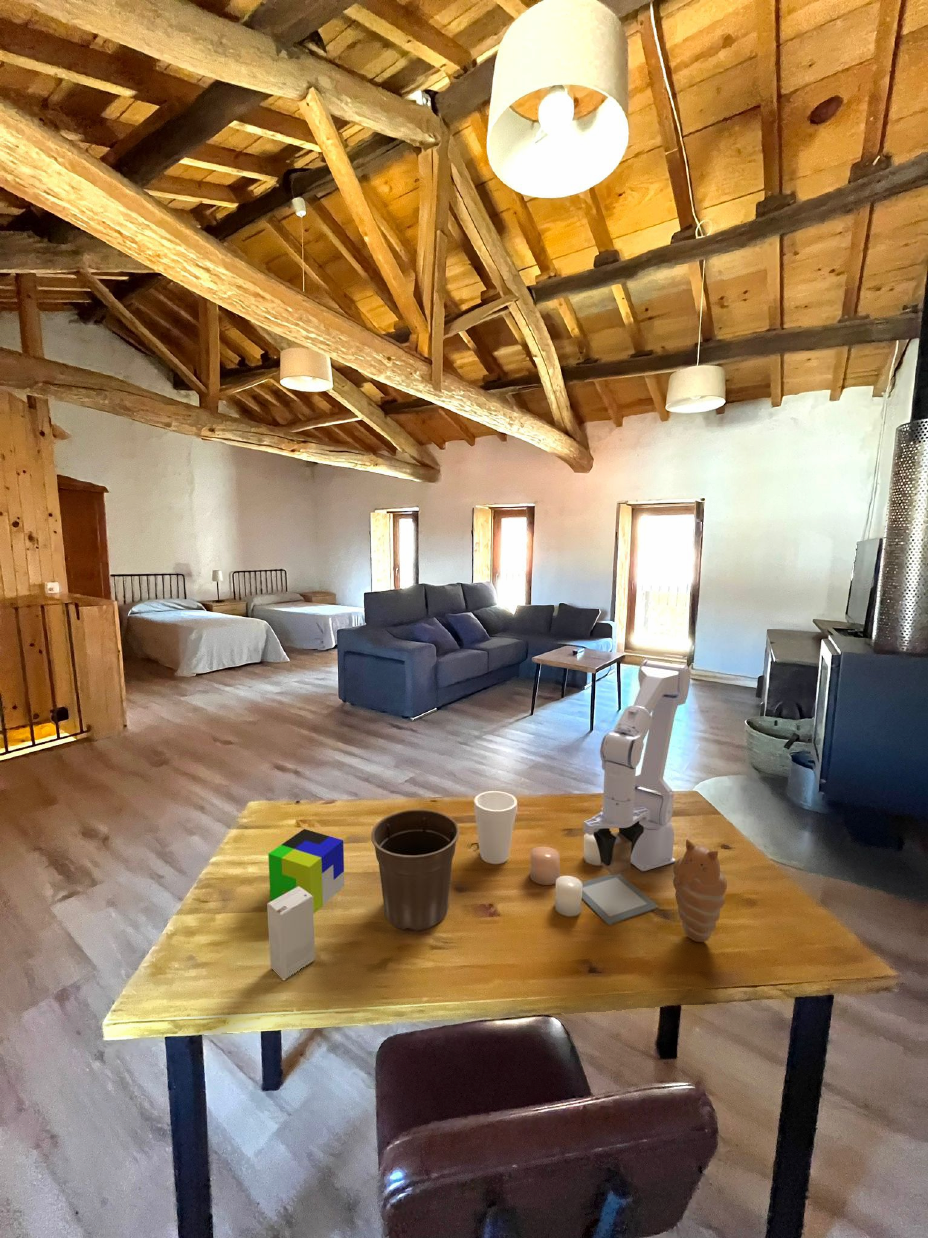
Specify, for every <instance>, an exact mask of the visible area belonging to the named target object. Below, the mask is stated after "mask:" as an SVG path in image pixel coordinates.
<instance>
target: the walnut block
mask: <svg viewBox="0 0 928 1238" xmlns="http://www.w3.org/2000/svg"><path fill="white" fill-rule="evenodd" d="M611 834H612V835H614V836H615V837H616V838H617V839H616V841H615V843H614V846H613V850H612V859H611V864H610V866H606V865H605V864H604V863H603V862H602V861H601V862H600V864H601V865H600V866H602V867H603V868H604V869H605V870H606V871H607V872H608V873H609V874H612V875H617V874H621V875H622V874H624V873H628V872H631V864H632V863H631V844H632V842H631V841H629V840H628V839H627V838H626V837H624V836H623V835H622V834H621V833H620V832H619V831H617V832H611Z"/></svg>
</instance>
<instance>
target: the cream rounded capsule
mask: <svg viewBox="0 0 928 1238" xmlns="http://www.w3.org/2000/svg"><path fill="white" fill-rule="evenodd" d="M582 882H583V881H581V880H580V879H579V878H577V877H575V876H571V875H560V876H559V878H557V880H556V883H555V891H554V892H555V893H554V894H555V895H554V896H555V897H554V908H555V911H556V912H557V913H559V914H560V915H562V916H565V917H576V916H578V915H580V914H581V912H582V904H583V899H582V886H583V885H582Z"/></svg>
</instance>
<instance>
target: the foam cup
mask: <svg viewBox="0 0 928 1238" xmlns="http://www.w3.org/2000/svg"><path fill="white" fill-rule="evenodd" d="M473 811H474V814H475V823H476V831H477V839H478V846H479V853H480V854H479V855H480V857H481V860H483V861H484V862H486V863H488V864H492V865H499V864H503V863H506V861H508V860H509V857H510V851H511V844H512V838H513V832H514V827H515V821H516V816H517V812H518V800H517V798H516V797H515V795H512V794H511V793H509V792H505V791H499V790H498V791H497V790H488V791H484V792H481V793H479V794H478V795H476V796H475V797H474V800H473Z"/></svg>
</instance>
